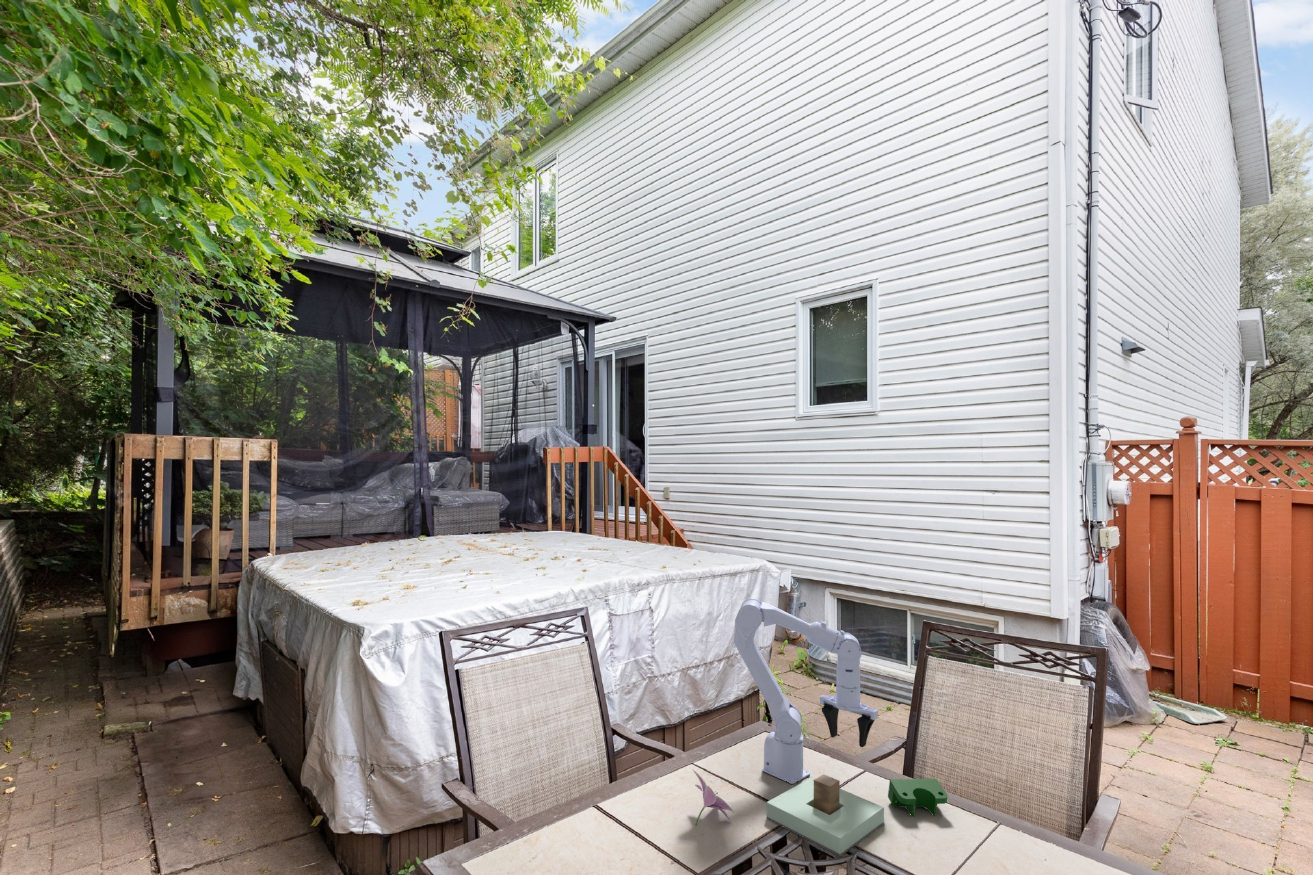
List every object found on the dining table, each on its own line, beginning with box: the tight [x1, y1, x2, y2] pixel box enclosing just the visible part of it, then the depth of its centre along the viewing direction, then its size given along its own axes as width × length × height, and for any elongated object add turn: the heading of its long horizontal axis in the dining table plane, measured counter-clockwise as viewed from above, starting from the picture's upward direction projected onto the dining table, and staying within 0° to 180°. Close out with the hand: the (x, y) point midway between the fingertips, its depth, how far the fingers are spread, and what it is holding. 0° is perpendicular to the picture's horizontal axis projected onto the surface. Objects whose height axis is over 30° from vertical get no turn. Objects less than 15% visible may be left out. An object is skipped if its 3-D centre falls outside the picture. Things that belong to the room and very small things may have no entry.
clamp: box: [887, 778, 948, 817], centre depth 141 cm, size 12×6×9 cm, turn 90°
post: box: [814, 773, 841, 815], centre depth 136 cm, size 4×4×8 cm
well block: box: [765, 776, 885, 857], centre depth 135 cm, size 18×18×4 cm
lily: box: [692, 769, 735, 826], centre depth 135 cm, size 12×12×10 cm
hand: (848, 741), depth 154 cm, fingers open, 7 cm apart
